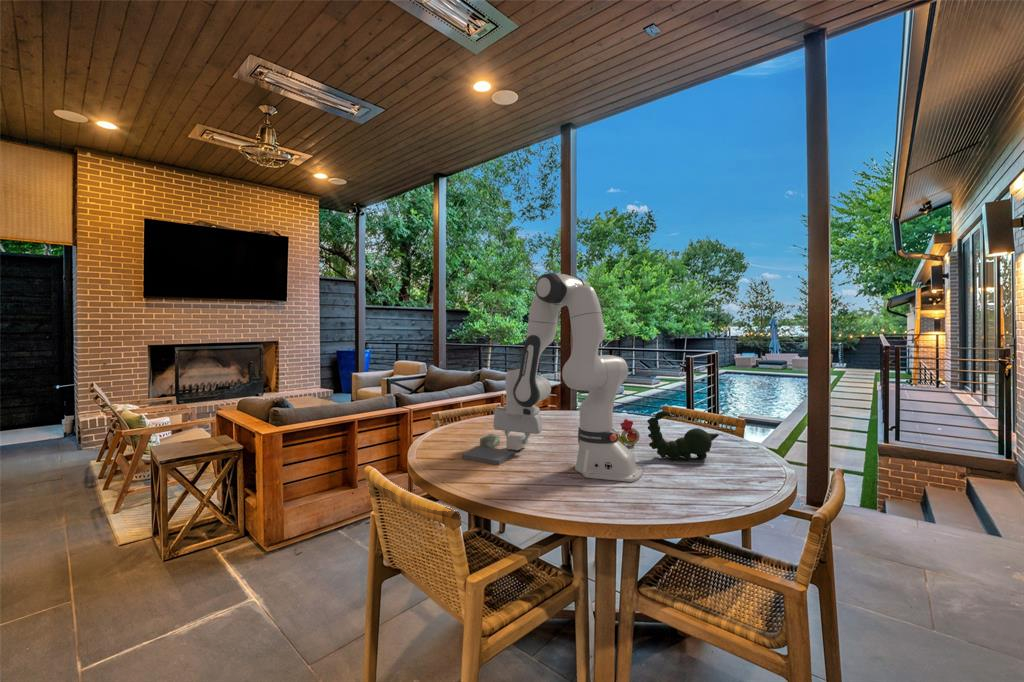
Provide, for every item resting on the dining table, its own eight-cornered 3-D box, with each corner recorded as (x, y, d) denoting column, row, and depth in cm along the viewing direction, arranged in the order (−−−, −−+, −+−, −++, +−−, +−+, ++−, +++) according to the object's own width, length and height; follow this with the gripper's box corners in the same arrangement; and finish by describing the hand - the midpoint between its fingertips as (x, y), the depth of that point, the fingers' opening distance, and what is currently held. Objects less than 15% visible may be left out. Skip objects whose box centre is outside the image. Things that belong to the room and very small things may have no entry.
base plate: (514, 455, 168) (514, 451, 168) (499, 464, 158) (499, 460, 158) (479, 449, 176) (479, 446, 176) (461, 458, 165) (461, 454, 165)
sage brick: (499, 445, 182) (499, 434, 182) (491, 451, 175) (491, 439, 175) (488, 444, 184) (488, 433, 184) (480, 449, 177) (479, 438, 176)
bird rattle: (630, 448, 183) (610, 440, 182) (641, 423, 182) (621, 415, 182) (635, 453, 176) (615, 444, 176) (646, 427, 176) (626, 419, 175)
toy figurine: (655, 467, 158) (726, 461, 158) (651, 415, 157) (722, 408, 157) (648, 459, 168) (714, 453, 167) (643, 409, 167) (710, 403, 166)
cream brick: (528, 445, 178) (528, 434, 178) (517, 450, 171) (516, 438, 171) (517, 443, 181) (517, 432, 181) (506, 448, 174) (506, 437, 174)
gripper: (490, 407, 178) (490, 441, 178) (536, 411, 168) (537, 447, 169) (497, 404, 183) (498, 438, 184) (543, 408, 174) (544, 443, 174)
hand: (517, 442), depth 176 cm, fingers closed on cream brick, 5 cm apart
